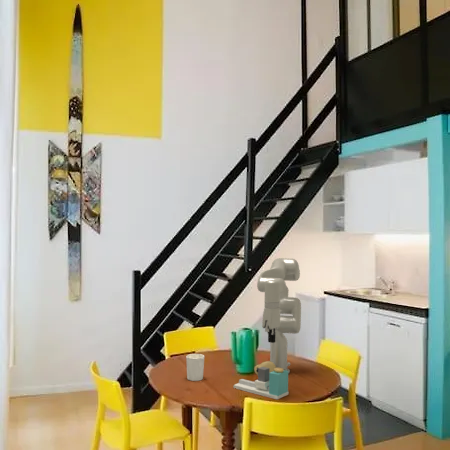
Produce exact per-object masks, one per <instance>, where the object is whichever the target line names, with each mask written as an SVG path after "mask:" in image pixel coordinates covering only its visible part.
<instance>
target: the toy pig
mask: <svg viewBox="0 0 450 450" xmlns="http://www.w3.org/2000/svg"><path fill="white" fill-rule="evenodd" d="M261 367H266V368H270V370H269V373H270V372H273V371H274V368H276V366H275V364H274V363H273V362H271V361H270V360H267V361H263V362H261V363H260V364H256V365H254V368H253V369H254V373H255V375H257V376H258V368H261Z"/></svg>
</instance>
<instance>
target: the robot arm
mask: <svg viewBox="0 0 450 450" xmlns="http://www.w3.org/2000/svg"><path fill="white" fill-rule="evenodd" d="M300 272H301V271H300V265H299V263H298V261H297V260H296V259H295V258H286V257H285V258H283V257H282V258H276V259H274V260H273V261H272V263H271V266H270V267H269V269H266V270H264V271H263V272H261V273H260V274H259V276H258V279H257V283H256V284H257V285H256V287H257V290H258V292H260V293H264V307H263V312H262V321H261V322H262V325H261V326H262V329H265V330H264V332H266V333H267V335H268V337H267V340H268V341H267V342H268V343H270V348H269V349H270V350H269V351H270V352H269V353H270V355H269V358H270V359H269V361H271V362H273V363H274V364H275V366H276V368H283V369H284V370H287V371H288V375H289V374H290V373H291V372H290V371H291V370H290V369H289V368H288V367H290V366H291V362H289V361H288V339H287V337H286V336H285V334H299V333H300V331H301V327H302V326H301V325H302V324H301V323H302V322H301V321H302V319H301V318H302V303H301V300H300V299H299V298H298V297H293V296H292V297H291V296H289V288H288V286H287V283H286V281H289V282H296V281H298V280H300V277H301V273H300Z"/></svg>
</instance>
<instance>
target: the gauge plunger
mask: <svg viewBox="0 0 450 450" xmlns="http://www.w3.org/2000/svg"><path fill="white" fill-rule="evenodd" d="M274 371H275V372H277V373H282V372H284V369H283V368H274Z"/></svg>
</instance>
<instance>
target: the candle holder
mask: <svg viewBox="0 0 450 450" xmlns="http://www.w3.org/2000/svg"><path fill="white" fill-rule="evenodd" d="M185 357H186V362H185V363H186V377H187V380H188V381H192V382H199V381H202V380H203V379H204V369H205V368H204V367H205V366H204V365H205V355H204V354H201V353H190V354H187V355H186V356H185Z"/></svg>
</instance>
